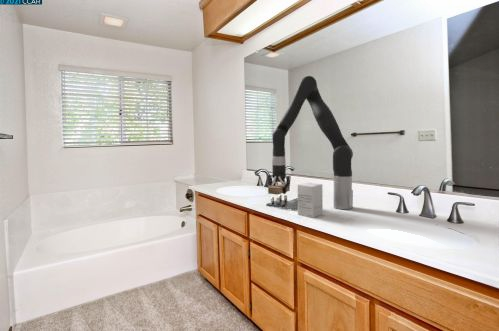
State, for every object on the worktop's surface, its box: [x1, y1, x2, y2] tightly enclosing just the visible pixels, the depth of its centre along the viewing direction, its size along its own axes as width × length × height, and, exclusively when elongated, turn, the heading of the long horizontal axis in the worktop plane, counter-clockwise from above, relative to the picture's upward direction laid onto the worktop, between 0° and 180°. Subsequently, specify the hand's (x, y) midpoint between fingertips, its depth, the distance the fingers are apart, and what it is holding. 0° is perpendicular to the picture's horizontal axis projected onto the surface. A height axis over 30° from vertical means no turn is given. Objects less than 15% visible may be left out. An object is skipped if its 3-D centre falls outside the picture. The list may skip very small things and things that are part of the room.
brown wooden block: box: [267, 183, 291, 196], centre depth 158 cm, size 14×6×4 cm, turn 144°
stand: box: [286, 197, 298, 211], centre depth 151 cm, size 14×3×4 cm, turn 144°
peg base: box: [265, 194, 289, 208], centre depth 158 cm, size 9×14×4 cm, turn 145°
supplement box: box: [297, 182, 324, 218], centre depth 134 cm, size 9×9×15 cm
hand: (279, 193), depth 158 cm, fingers closed on brown wooden block, 6 cm apart
